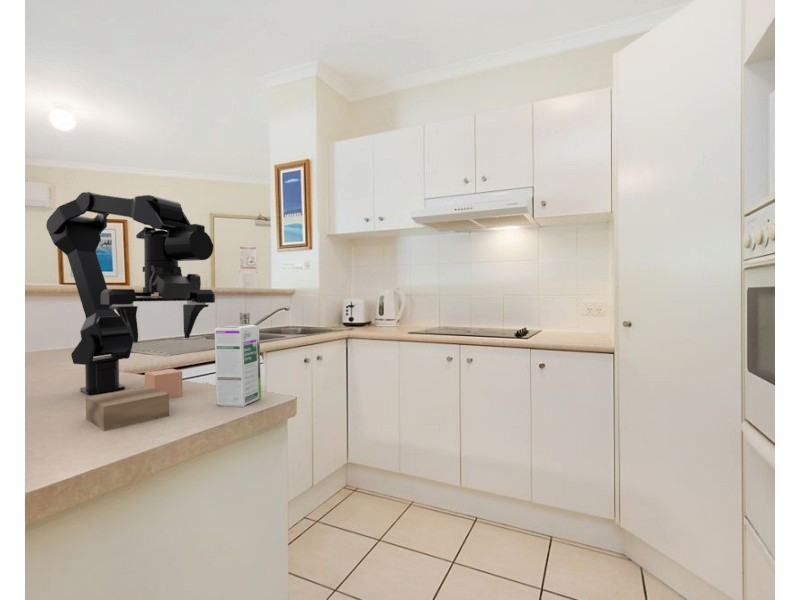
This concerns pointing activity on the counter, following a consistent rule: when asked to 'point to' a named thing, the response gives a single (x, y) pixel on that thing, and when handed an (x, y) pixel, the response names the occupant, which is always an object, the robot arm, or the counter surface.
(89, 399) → the walnut block
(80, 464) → the counter surface
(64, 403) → the counter surface
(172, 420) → the counter surface
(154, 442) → the counter surface
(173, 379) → the terracotta cube
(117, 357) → the robot arm
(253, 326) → the syrup box
